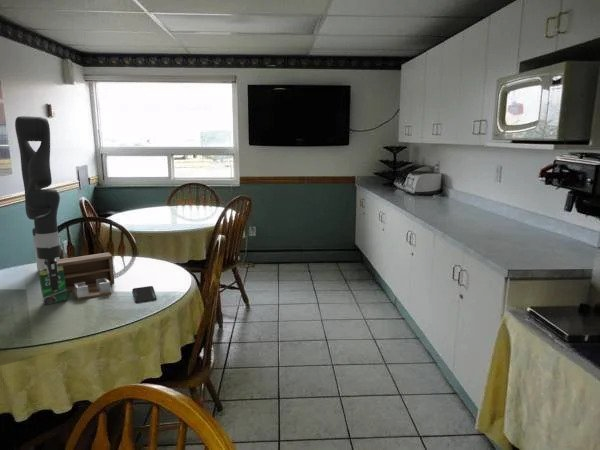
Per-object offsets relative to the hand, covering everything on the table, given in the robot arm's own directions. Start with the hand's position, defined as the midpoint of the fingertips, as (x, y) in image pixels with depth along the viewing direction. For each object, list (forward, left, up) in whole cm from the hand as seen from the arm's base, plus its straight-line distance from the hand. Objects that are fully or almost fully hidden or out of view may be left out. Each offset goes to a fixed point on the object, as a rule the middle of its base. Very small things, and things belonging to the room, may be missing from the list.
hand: (53, 286), depth 160 cm
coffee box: (0, 0, -6) cm, 6 cm away
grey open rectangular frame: (0, +13, -6) cm, 14 cm away
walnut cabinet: (-6, +13, -6) cm, 15 cm away
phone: (+12, +29, -6) cm, 32 cm away
